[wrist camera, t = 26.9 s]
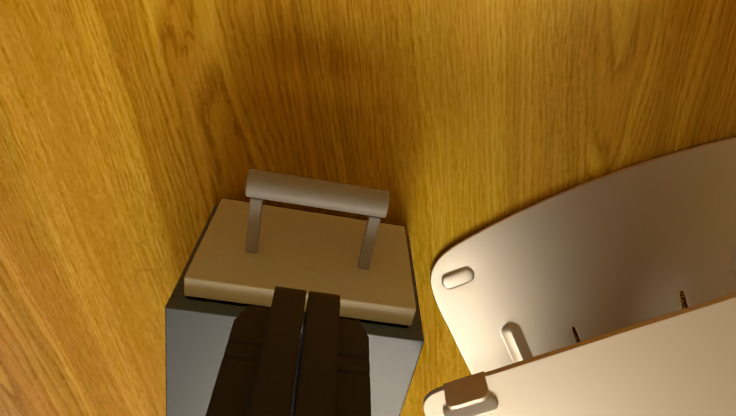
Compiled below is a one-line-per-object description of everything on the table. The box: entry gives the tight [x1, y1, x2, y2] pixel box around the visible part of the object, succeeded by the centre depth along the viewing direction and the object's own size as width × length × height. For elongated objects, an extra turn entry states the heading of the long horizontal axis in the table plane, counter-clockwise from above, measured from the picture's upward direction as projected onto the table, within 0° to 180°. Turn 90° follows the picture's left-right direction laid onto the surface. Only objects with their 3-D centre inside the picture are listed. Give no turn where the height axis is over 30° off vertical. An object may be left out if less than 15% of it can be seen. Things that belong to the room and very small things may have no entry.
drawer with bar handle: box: [184, 169, 416, 326], centre depth 31 cm, size 18×11×8 cm, turn 169°
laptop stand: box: [423, 136, 736, 416], centre depth 31 cm, size 26×24×16 cm
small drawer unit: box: [165, 206, 424, 416], centre depth 33 cm, size 15×13×10 cm
